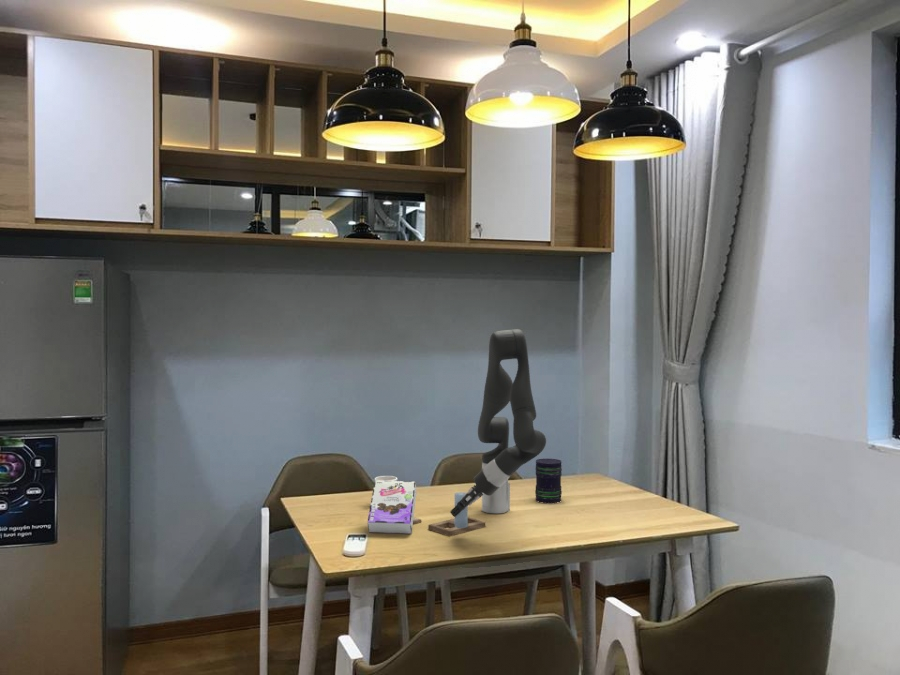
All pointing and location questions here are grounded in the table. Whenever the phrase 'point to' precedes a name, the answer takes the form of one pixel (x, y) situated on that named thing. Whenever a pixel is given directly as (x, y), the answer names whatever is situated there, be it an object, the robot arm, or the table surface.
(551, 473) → the storage jar
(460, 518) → the blue pin
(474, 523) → the socket board
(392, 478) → the dixie cup
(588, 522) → the table surface
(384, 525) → the candy box
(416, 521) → the strip
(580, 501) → the table surface
